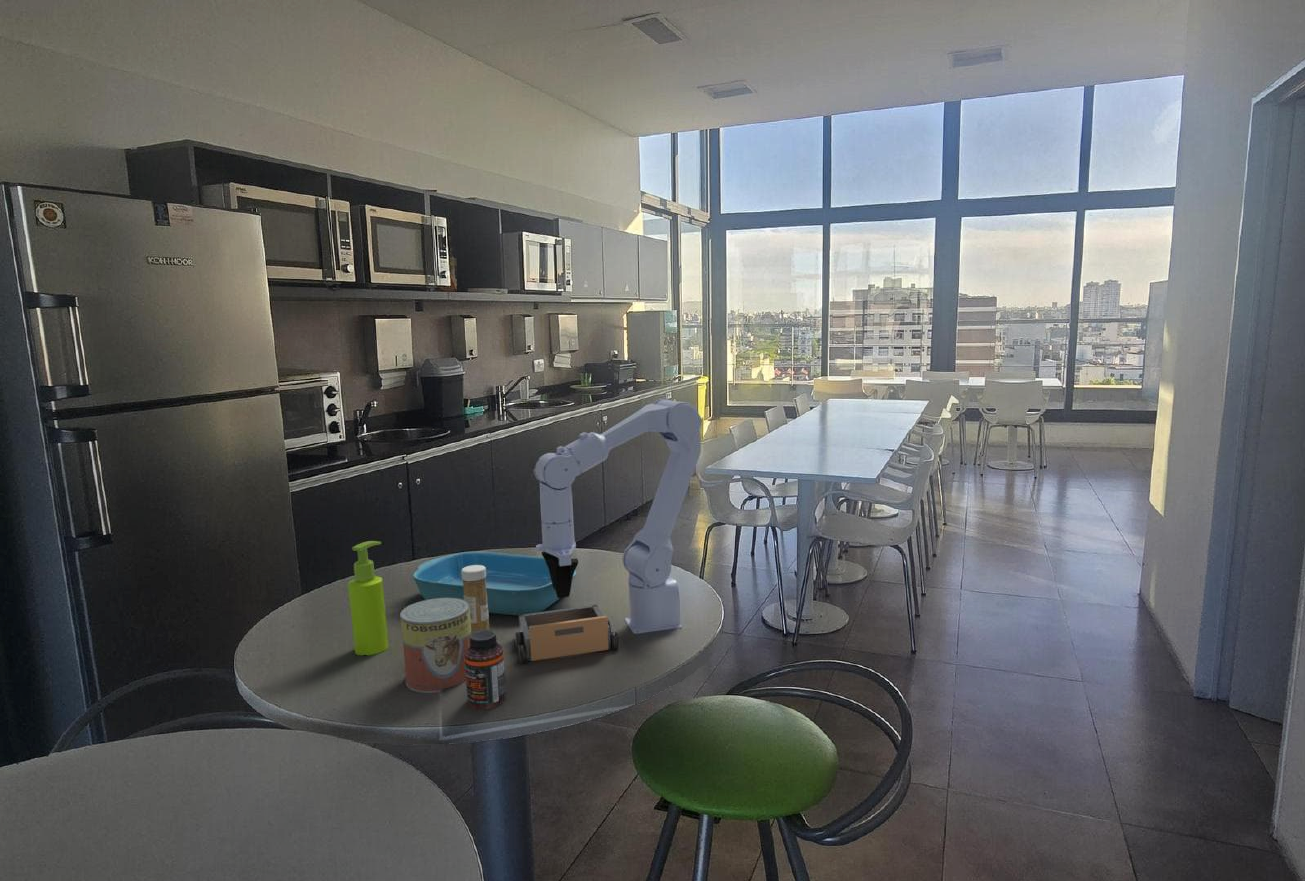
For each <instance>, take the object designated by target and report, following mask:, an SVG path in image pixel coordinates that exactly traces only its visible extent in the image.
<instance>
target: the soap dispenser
mask: <svg viewBox="0 0 1305 881" xmlns="http://www.w3.org/2000/svg"><path fill="white" fill-rule="evenodd" d="M382 543H383V542H382V541H377V540H368V541H367V540H366V541H364V542H363V541H362V542H361V543H358V544H356V545H354V546H352V547H351V549H352V551H355V552H357V561H355V562H354V563H353V574H354V579H352V580H350V581H349V582H348V583H347V586H348V597H349V598H348V599H349V606H350V607H349V608H350V617H351V626H352V635H353V636H352V637H353V646H354V648H353V649H354V653H355V654H356V655H357V656H363V655H367V656H372V655H373V656H374V655H378V654H380V653H383V652H385V651H386V650H387V649H388V648H389V638H388V627H387V616H386V615H387V614H386V607H385V605H386V604H385V603H386V602H385V593H384V583H383V578H382V577H381V576H377V575H376V574H375V567H374V566H375V565H374V560H371V559H369V553H368V548H371V547H374V546H378V545H382ZM382 651H383V652H382Z"/></svg>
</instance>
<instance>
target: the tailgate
mask: <svg viewBox="0 0 1305 881" xmlns="http://www.w3.org/2000/svg"><path fill="white" fill-rule="evenodd" d="M607 620H608V617H607V615H603V616H600V617H593V618H585V619H578V620H571V621H564V622H556V623H549V624H542V625H534V626H529V636H530V652H531V661H530V662H534V661H542V660H546V659H553V658H555V659H556V658H561V657H569V656H574V655H581V654H588V653H594V652H602V651H607V650H609V649H608V629H607Z"/></svg>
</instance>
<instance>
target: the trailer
mask: <svg viewBox="0 0 1305 881" xmlns="http://www.w3.org/2000/svg"><path fill="white" fill-rule="evenodd" d="M600 616H604V614H603V613H602V611H601V609H600V607H599V606H598V604H593V605H584V606H577V607H569V608H561V609H554V610H548V611H547V610H544V611H541V612H538V613H530V614H523V615H518V624H519V625H518V626H519V628H518V629H519V631H518V632H515V633H514V635H515V636H514V639H515V647H516V650H517V651H518V659H519V662H520V663H519V664H520V665H521V664H522V665H523V664H528V662H532V661H531V652H530V636H529V626H534V625H542V624H549V623H556V622H564V621H571V620H578V619H585V618H593V617H600ZM607 629H608V650H611V651H616V650H619V646H620V645H619V637H618V634H617V632H616V631H612V628H611V623H610V620H609V619H607Z"/></svg>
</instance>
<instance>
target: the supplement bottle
mask: <svg viewBox="0 0 1305 881" xmlns="http://www.w3.org/2000/svg"><path fill="white" fill-rule="evenodd" d="M504 655H505V654H504V649H503V646H502V645H501V644H500V643H498V642H497V633H496V632H495V631H494V630H491V629H490V630H480V631H476V632H474V633H472V634H471V635H470V646H469V647H468V648H467V649H466V651H465V656H464V657H465V672H466V681H465V683H466V684H465V686H466V699H467V705H468V706H469V707H471V708H472V709H475V710H489V709H493V708H497V707H498V706H500V705H502V704H503V703H505V701H506V700H507V690H506V687H507V686H506V672H505V660H504V659H505V657H504Z"/></svg>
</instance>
